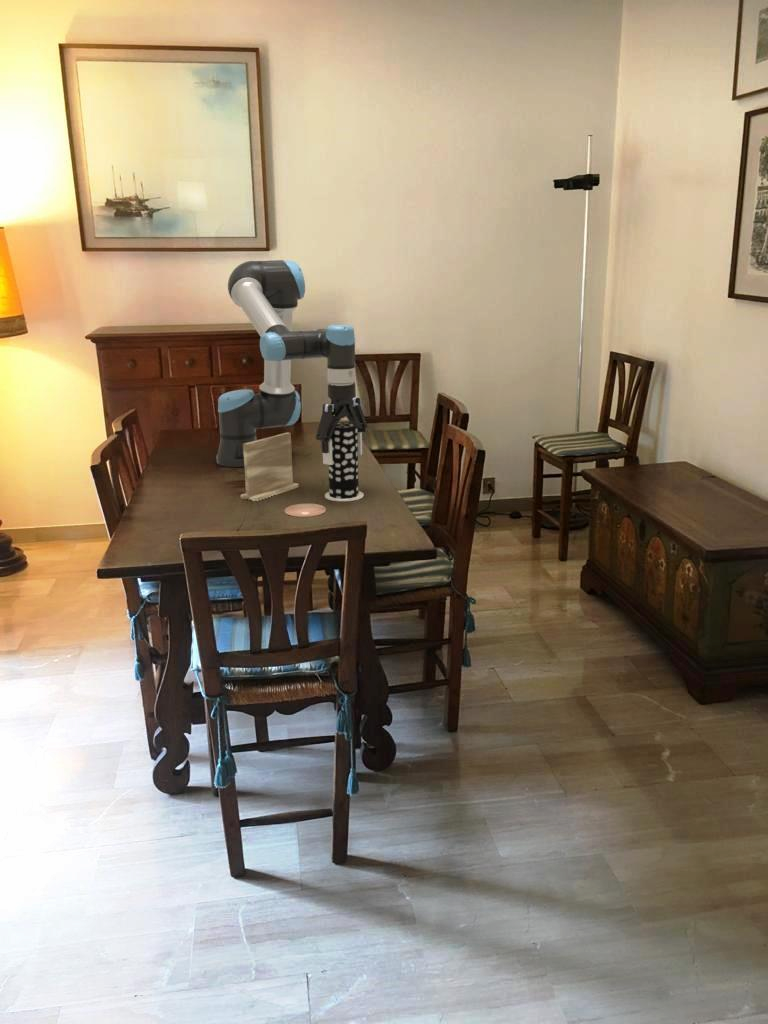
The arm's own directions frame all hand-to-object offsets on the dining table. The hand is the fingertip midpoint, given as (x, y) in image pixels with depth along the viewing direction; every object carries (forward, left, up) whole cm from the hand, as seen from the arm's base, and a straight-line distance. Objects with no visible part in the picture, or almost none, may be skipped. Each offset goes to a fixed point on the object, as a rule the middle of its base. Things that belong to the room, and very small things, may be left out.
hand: (343, 459), depth 228 cm
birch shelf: (-20, -9, -11) cm, 24 cm away
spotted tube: (0, 0, -10) cm, 11 cm away
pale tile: (0, 0, -11) cm, 11 cm away
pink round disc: (0, -17, -11) cm, 20 cm away
